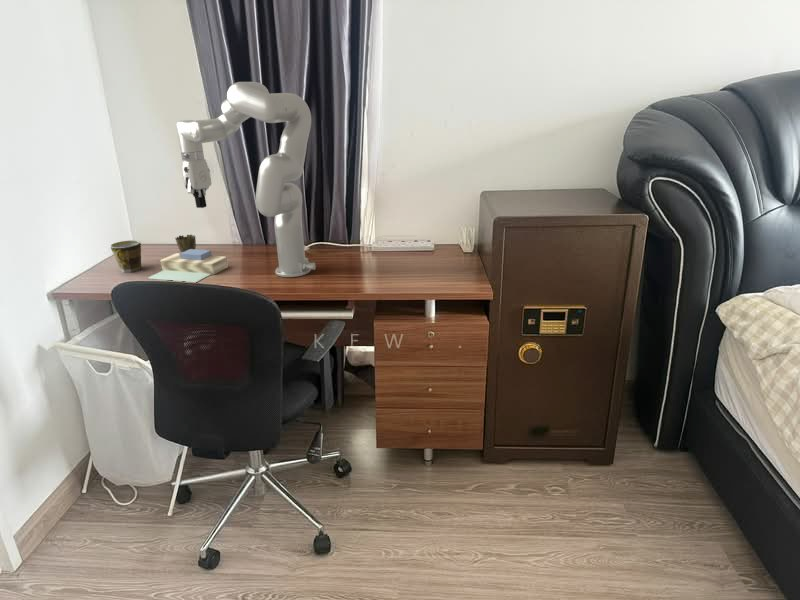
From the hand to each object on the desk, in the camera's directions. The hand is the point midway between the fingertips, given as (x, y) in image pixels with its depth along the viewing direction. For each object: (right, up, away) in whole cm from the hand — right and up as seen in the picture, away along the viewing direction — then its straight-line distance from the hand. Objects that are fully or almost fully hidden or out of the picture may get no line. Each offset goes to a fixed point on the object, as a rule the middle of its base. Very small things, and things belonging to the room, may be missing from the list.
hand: (201, 207), depth 194 cm
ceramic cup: (-26, -24, -1) cm, 36 cm away
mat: (-5, -26, -8) cm, 28 cm away
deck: (-2, -23, 0) cm, 23 cm away
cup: (-11, -17, +15) cm, 25 cm away
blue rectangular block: (-2, -19, -1) cm, 19 cm away
